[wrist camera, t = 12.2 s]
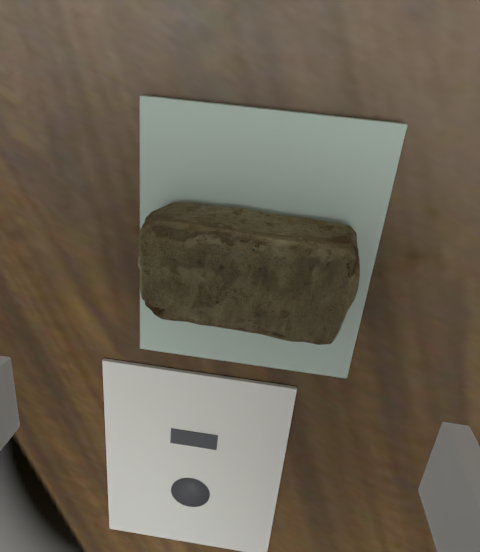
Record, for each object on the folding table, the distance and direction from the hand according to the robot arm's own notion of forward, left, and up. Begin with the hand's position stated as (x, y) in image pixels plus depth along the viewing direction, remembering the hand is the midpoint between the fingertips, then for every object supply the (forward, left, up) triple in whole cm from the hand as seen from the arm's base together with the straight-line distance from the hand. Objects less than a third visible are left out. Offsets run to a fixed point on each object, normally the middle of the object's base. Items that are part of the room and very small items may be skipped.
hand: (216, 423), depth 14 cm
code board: (-19, +3, -15) cm, 24 cm away
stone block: (0, 0, -14) cm, 14 cm away
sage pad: (0, 0, -15) cm, 15 cm away
